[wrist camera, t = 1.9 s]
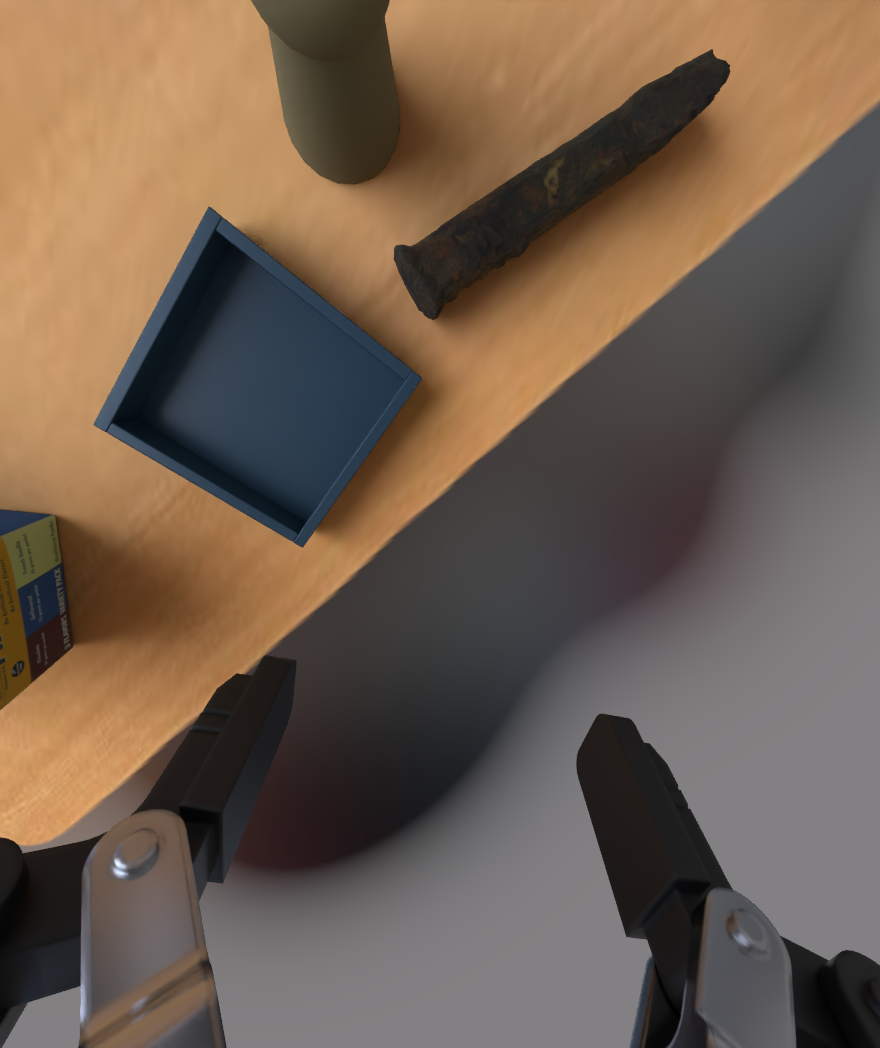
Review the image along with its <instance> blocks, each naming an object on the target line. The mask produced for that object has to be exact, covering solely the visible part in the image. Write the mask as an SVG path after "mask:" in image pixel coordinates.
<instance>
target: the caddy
mask: <svg viewBox="0 0 880 1048" xmlns="http://www.w3.org/2000/svg"><path fill="white" fill-rule="evenodd" d="M421 380H422V378H421V377H420V376H419V375H418V374H416V373H415V372H414V371H412V369H410V368H409V367H408V366H407V365H405V364H404V363H403V362H402V361H400V360H399V359H398V358H397V357H395V356H394V355H393V354H392V353H390V352H389V351H388V350H387V349H386V348H384V347H383V346H382V345H381V344H379V343H378V342H377V341H376V340H374V339H373V338H372V337H371V336H369V335H368V334H367V333H366V332H364V331H363V330H362V329H361V328H359V327H358V326H357V325H356V324H355V323H353V322H352V321H351V320H350V319H348V318H347V317H346V316H345V315H343V314H342V313H341V312H340V311H338V310H337V309H336V308H335V307H333V306H332V305H331V304H330V303H329V302H327V301H326V300H325V299H324V298H322V297H321V296H320V295H319V294H317V293H316V292H315V291H314V290H312V289H311V288H310V287H309V286H307V285H306V284H305V283H304V282H302V281H301V280H300V279H299V278H298V277H296V276H295V275H294V274H293V273H291V272H290V271H289V270H288V269H286V268H285V267H284V266H283V265H281V264H280V263H279V262H278V261H276V260H275V259H274V258H273V257H271V256H270V255H269V254H268V253H267V252H265V251H264V250H263V249H262V248H260V247H259V246H258V245H257V244H255V243H254V242H253V241H252V240H250V239H249V238H248V237H247V236H245V235H244V234H243V233H242V232H241V231H239V230H238V229H237V228H236V227H234V226H233V225H232V224H231V223H229V222H228V221H227V220H226V219H224V218H223V217H222V216H221V215H219V214H218V213H217V212H216V211H214V210H213V209H212V208H211V207H208V209H207V211H206V213H205V214H204V216H203V218H202V220H201V222H200V224H199V226H198V228H197V230H196V231H195V233H194V235H193V237H192V239H191V241H190V243H189V245H188V247H187V248H186V250H185V252H184V254H183V256H182V258H181V260H180V262H179V264H178V265H177V267H176V269H175V271H174V273H173V275H172V277H171V279H170V281H169V283H168V284H167V286H166V288H165V290H164V292H163V294H162V296H161V298H160V300H159V301H158V303H157V305H156V307H155V309H154V311H153V313H152V315H151V317H150V318H149V320H148V322H147V324H146V326H145V328H144V330H143V332H142V334H141V335H140V337H139V339H138V341H137V343H136V345H135V347H134V349H133V351H132V353H131V354H130V356H129V358H128V360H127V362H126V364H125V366H124V368H123V370H122V371H121V373H120V375H119V377H118V379H117V381H116V383H115V385H114V387H113V388H112V390H111V392H110V394H109V396H108V398H107V400H106V402H105V404H104V405H103V407H102V409H101V411H100V413H99V415H98V417H97V419H96V421H95V423H94V425H95V426H96V427H98V428H100V429H101V430H103V431H105V432H107V433H108V434H110V435H112V436H114V437H115V438H117V439H119V440H120V441H122V442H124V443H125V444H127V445H129V446H131V447H132V448H134V449H136V450H137V451H139V452H141V453H142V454H144V455H146V456H148V457H149V458H151V459H153V460H154V461H156V462H158V463H160V464H161V465H163V466H165V467H166V468H168V469H170V470H171V471H173V472H175V473H177V474H178V475H180V476H182V477H183V478H185V479H187V480H188V481H190V482H192V483H194V484H195V485H197V486H199V487H200V488H202V489H204V490H205V491H207V492H209V493H211V494H212V495H214V496H216V497H217V498H219V499H221V500H222V501H224V502H226V503H228V504H229V505H231V506H233V507H234V508H236V509H238V510H239V511H241V512H243V513H245V514H246V515H248V516H250V517H251V518H253V519H255V520H257V521H258V522H260V523H262V524H263V525H265V526H267V527H268V528H270V529H272V530H274V531H275V532H277V533H279V534H280V535H282V536H284V537H285V538H287V539H289V540H291V541H293V542H294V543H295V544H297V545H299V546H301V547H304V545H305V544H306V542H307V541H308V539H309V538H310V537H311V535H312V534H313V532H314V531H315V530H316V528H317V527H318V525H319V524H320V523H321V521H322V520H323V518H324V517H325V515H326V514H327V513H328V511H329V510H330V508H331V507H332V506H333V504H334V503H335V501H336V500H337V498H338V497H339V496H340V494H341V493H342V491H343V490H344V489H345V487H346V486H347V484H348V483H349V481H350V480H351V479H352V477H353V476H354V474H355V473H356V472H357V470H358V469H359V467H360V466H361V465H362V463H363V462H364V460H365V459H366V457H367V456H368V455H369V453H370V452H371V450H372V449H373V448H374V446H375V445H376V443H377V442H378V440H379V439H380V438H381V436H382V435H383V433H384V432H385V431H386V429H387V428H388V426H389V425H390V423H391V422H392V421H393V419H394V418H395V416H396V415H397V414H398V412H399V411H400V409H401V408H402V407H403V405H404V404H405V402H406V401H407V399H408V398H409V397H410V395H411V394H412V392H413V391H414V390H415V388H416V387H417V385H418V384H419V382H420V381H421Z"/></svg>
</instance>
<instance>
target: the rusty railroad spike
mask: <svg viewBox="0 0 880 1048" xmlns="http://www.w3.org/2000/svg"><path fill="white" fill-rule="evenodd" d="M729 67H730V65H729V64H728V63H727V62H726V61H724V60H720V59H717V58H716V57H715V56H714V54H713V49H712V50H710V51H708V52H706V53H704V54H702V55H700V56H698V57H697V58H695V59H693V60H691V61H689V62H687V63H685V64H683V65H681V66H678V67H676V68H675V69H674V70H673V71H672V72H671V73H669V74H667V75H665V76H663V77H661V78H659V79H657V80H655V81H653V82H651V83H649V84H647V85H645V86H643V87H642V88H641V89H639V90H638V91H637V92H636V93H634V94H633V95H632V96H631V97H630V98H629V99H628V100H627V101H626V102H625V103H624V104H623V105H622V106H621V107H619V108H618V109H616V110H615V111H613V112H611V113H609V114H608V115H606V116H605V117H603V118H602V119H600V120H599V121H598V122H596V123H595V124H593V125H592V126H591V127H589V128H588V129H586V130H585V131H583V132H582V133H580V134H579V135H578V136H577V137H575V138H574V139H572V140H570V141H568V142H567V143H565V144H563V145H561V146H560V147H559V148H557V149H556V150H555V151H553V152H552V153H550V154H548V155H547V156H545V157H543V158H541V159H540V160H538V161H536V162H535V163H533V164H532V165H531V166H529V167H528V168H527V169H525V170H524V171H522V172H521V173H519V174H518V175H516V176H515V177H513V178H511V179H510V180H508V181H507V182H506V183H504V184H503V185H501V186H500V187H498V188H497V189H495V190H494V191H492V192H491V193H489V194H488V195H486V196H485V197H483V198H482V199H480V200H479V201H477V202H475V203H474V204H472V205H471V206H470V207H468V208H467V209H465V210H464V211H462V212H461V213H459V214H458V215H457V216H455V217H454V218H452V219H451V220H449V221H448V222H446V223H445V224H443V225H442V226H440V227H439V228H438V229H437V230H436V231H434V232H433V233H431V234H430V235H428V236H427V237H426V238H424V239H423V240H421V241H420V242H418V243H416V244H415V245H413V246H406V245H396V246H395V248H394V261H395V263H396V265H397V268H398V271H399V273H400V275H401V277H402V279H403V281H404V284H405V286H406V288H407V290H408V291H409V293H410V295H411V297H412V299H413V300H414V302H415V304H416V306H417V307H418V309H419V311H421V312H423V314H424V315H425V316H426V317H427V318H429V319H430V318H431V319H432V320H434V319H436V318H438V316H439V314H440V312H441V311H442V309H443V307H444V305H445V303H448V302H451V301H453V300H455V299H456V297H457V295H458V293H459V292H460V291H461V290H463V289H464V288H467V287H469V286H470V285H472V284H473V283H475V282H476V281H477V280H480V279H483V278H484V277H485V276H487V275H488V274H489V273H490V272H492V271H493V270H494V269H498V268H500V267H502V266H504V265H505V262H506V261H508V260H510V259H512V258H516V257H519V256H520V255H521V254H522V253H523V252H524V251H525V250H526V248H527V247H528V245H529V244H530V243H531V242H532V241H534V240H535V239H537V238H538V237H539V236H541V235H542V234H544V233H545V232H546V231H548V230H549V229H550V228H552V227H553V226H555V225H556V224H557V223H559V222H560V221H561V220H563V219H564V218H566V217H567V216H568V215H570V214H571V213H573V212H575V211H576V210H577V209H579V208H580V207H582V206H583V205H585V204H586V203H587V202H589V201H590V200H592V199H593V198H594V197H596V196H597V195H599V194H600V193H602V192H603V191H604V190H606V189H607V188H608V187H610V186H612V185H613V184H614V183H616V182H617V181H619V180H620V179H622V178H624V177H625V176H626V175H628V174H629V173H631V172H632V171H634V170H635V169H636V168H637V166H638V165H639V164H641V163H642V162H644V161H646V160H647V159H648V158H649V157H650V156H652V155H654V154H656V153H657V152H658V151H659V150H660V149H662V148H663V147H664V146H665V145H666V144H667V143H669V142H670V140H671V139H672V138H673V137H674V136H675V135H677V134H678V133H679V132H680V131H681V130H682V129H683V128H684V127H685V126H686V125H687V124H689V123H690V122H691V121H692V120H693V119H694V118H695V117H696V116H697V115H698V114H700V113H701V112H702V111H703V110H704V109H705V108H706V107H707V106H708V105H709V104H710V103H711V102H712V101H713V100H714V97H715V95H716V94H717V93H718V92H719V91H720V88H721V87H722V86H723V85H724V84H725V83H726V81H727V79H728V76H729V74H730V68H729Z"/></svg>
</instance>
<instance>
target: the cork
mask: <svg viewBox="0 0 880 1048" xmlns="http://www.w3.org/2000/svg"><path fill="white" fill-rule="evenodd" d="M251 1H252V3H253V4H254V6H255V7H256V9H257V11H258V12H259V14H260V16H261V17H262V19H263V20H264V21H265V23H266V24H267V25H268V29H269V34H270V40H271V46H272V52H273V58H274V64H275V69H276V75H277V81H278V87H279V93H280V98H281V104H282V110H283V116H284V121H285V124H286V127H287V130H288V132H289V135H290V138H291V141H292V143H293V145H294V146H295V148H296V149H297V151H298V152H299V154H300V156H301V157H302V159H303V160H304V161H305V162H306V163H307V164H308V165H309V166H310V167H311V168H312V169H314V170H315V171H316V172H317V173H318V174H319V175H321V176H323V177H325V178H327V179H330V180H332V181H334V182H336V183H347V184H356V183H359V182H363V181H366V180H369V179H371V178H372V177H374V176H375V175H376V174H377V173H378V172H380V171H381V170H382V169H383V168H384V167H385V166H386V164H387V163H388V161H389V159H390V158H391V156H392V154H393V152H394V151H395V147H396V143H397V139H398V135H399V131H400V125H399V103H398V97H397V91H396V85H395V79H394V73H393V66H392V60H391V54H390V48H389V42H388V36H387V30H386V24H385V14H386V11H387V8H388V5H389V0H251Z"/></svg>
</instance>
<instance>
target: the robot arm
mask: <svg viewBox="0 0 880 1048" xmlns="http://www.w3.org/2000/svg"><path fill="white" fill-rule="evenodd" d="M295 673H296V660H293V659H287V658H281V657H275V656H270V655H265V656H264V657H263V659H262V660H261V662H260V664H259V665H258V667H257V669H256V671H255V672H254V674H253V676H250V675H244V674H238V673H237V674H235V675H234V676H233V677H231V678H230V679H229V680H228V681H226V682H225V683H224V684H223V685H221V686H220V687H219V688H217V690H216V691H215V693H214V694H213V696H212V697H211V699H210V700H209V702H208V704H207V705H206V707H205V708H204V711H203V713H201V714H200V716H199V717H198V719H197V721H196V722H195V724H194V725H193V728H192V730H190V731H189V733H188V734H187V736H186V738H185V739H184V741H183V742H182V744H181V745H180V747H179V748H178V750H177V751H176V753H175V755H174V757H173V758H172V759H171V761H170V762H169V764H168V765H167V767H166V769H165V770H164V772H163V773H162V775H161V776H160V778H159V779H158V781H157V782H156V784H155V785H154V787H153V789H152V790H151V792H150V793H149V795H148V796H147V798H146V799H145V800H144V802H143V803H142V804H141V805H140V807H139V808H138V809H137V810H136V811H135V812H134V813H133V814H132V815H131V816H129V817H128V818H126V819H124V820H123V821H121V822H119V823H118V824H116V825H115V826H114V827H113V828H111V829H110V830H109V831H107V832H105V833H104V834H101V835H99V836H97V837H94V838H92V839H89V840H85V841H81V842H77V843H72V844H67V845H62V846H57V847H53V848H48V849H43V850H38V851H33V852H28V853H22V851H21V849H20V847H19V845H17V844H16V843H15V842H14V841H12V840H9V839H7V838H0V1048H2V1046H3V1044H4V1043H5V1041H6V1039H7V1038H8V1036H9V1034H10V1033H11V1031H12V1029H13V1027H14V1026H15V1024H16V1022H17V1020H18V1019H19V1017H20V1015H21V1014H22V1012H23V1010H24V1008H25V1007H26V1005H27V1003H28V1002H30V1001H34V1000H37V999H40V998H43V997H47V996H49V995H53V994H56V993H59V992H62V991H66V990H69V989H72V988H76V987H78V986H81V1004H80V1005H81V1006H80V1040H79V1047H78V1048H226V1042H225V1036H224V1030H223V1025H222V1019H221V1013H220V1007H219V1002H218V996H217V990H216V986H215V981H214V975H213V971H212V967H211V964H210V961H209V958H208V952H207V947H206V941H205V935H204V930H203V924H202V918H201V912H200V907H199V900H200V898H201V896H202V893H203V891H204V889H205V886H206V884H207V882H216V883H223V882H224V879H225V877H226V874H227V872H228V870H229V867H230V865H231V862H232V860H233V857H234V855H235V852H236V850H237V847H238V845H239V842H240V840H241V838H242V835H243V833H244V830H245V828H246V825H247V823H248V820H249V818H250V815H251V813H252V810H253V808H254V805H255V803H256V800H257V798H258V796H259V793H260V791H261V788H262V786H263V783H264V781H265V778H266V776H267V774H268V771H269V769H270V766H271V763H272V761H273V759H274V756H275V754H276V751H277V749H278V746H279V744H280V741H281V739H282V736H283V734H284V731H285V729H286V726H287V724H288V720H289V717H290V713H291V709H292V704H293V695H294V684H295ZM576 765H577V774H578V778H579V781H580V785H581V788H582V791H583V795H584V798H585V801H586V805H587V808H588V811H589V814H590V818H591V821H592V825H593V828H594V831H595V834H596V838H597V841H598V844H599V848H600V851H601V854H602V857H603V861H604V864H605V867H606V871H607V874H608V877H609V881H610V884H611V887H612V890H613V894H614V897H615V900H616V904H617V907H618V910H619V914H620V917H621V920H622V924H623V927H624V930H625V934H626V937H632V938H639V939H647V940H648V943H649V946H650V949H651V952H652V954H651V955H650V957H649V959H648V961H647V964H646V969H645V974H644V979H643V984H642V989H641V993H640V998H639V1003H638V1008H637V1014H636V1018H635V1023H634V1028H633V1033H632V1038H631V1043H630V1048H880V965H878V964H877V963H876V962H874V961H873V960H871V959H870V958H868V957H866V956H864V955H862V954H860V953H858V952H854V951H849V950H845V951H842V952H840V953H839V954H838V955H836V956H835V957H834V958H832V959H831V960H830V961H828V960H827V959H824V958H823V957H821V956H819V955H817V954H815V953H813V952H811V951H809V950H807V949H805V948H803V947H801V946H799V945H797V944H795V943H793V942H791V941H789V940H788V939H785V938H783V937H782V936H780V935H779V933H778V932H777V930H776V929H775V927H774V926H773V924H772V923H771V922H770V920H769V919H768V918H767V917H766V916H765V914H764V913H763V912H762V911H761V910H760V909H759V908H758V907H757V906H756V905H755V904H754V903H752V902H751V901H750V900H749V899H747V898H746V897H744V896H743V895H741V894H740V893H738V892H736V891H734V890H733V889H732V888H731V886H730V884H729V882H728V881H727V879H726V877H725V875H724V873H723V871H722V869H721V867H720V865H719V863H718V861H717V859H716V857H715V855H714V854H713V852H712V850H711V848H710V846H709V844H708V842H707V840H706V838H705V836H704V834H703V832H702V830H701V829H700V827H699V825H698V823H697V821H696V819H695V817H694V815H693V813H692V811H691V810H690V809H688V804H687V802H686V800H685V798H684V796H683V794H682V792H681V790H679V789H678V784H677V782H676V780H675V778H674V777H673V775H672V773H671V771H670V769H669V767H668V765H667V763H666V762H665V761H664V760H663V759H662V758H661V756H660V755H659V754H658V753H657V752H656V750H655V749H654V748H653V747H652V746H651V745H650V744H649V743H644V742H643V740H642V738H641V736H640V734H639V732H638V730H637V728H636V726H635V724H634V723H633V721H632V720H631V719H628V718H623V717H618V716H612V715H607V714H599V715H598V716H597V717H596V719H595V720H594V722H593V724H592V726H591V728H590V730H589V732H588V734H587V735H586V737H585V739H584V741H583V743H582V745H581V747H580V749H579V751H578V754H577V764H576Z"/></svg>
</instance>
